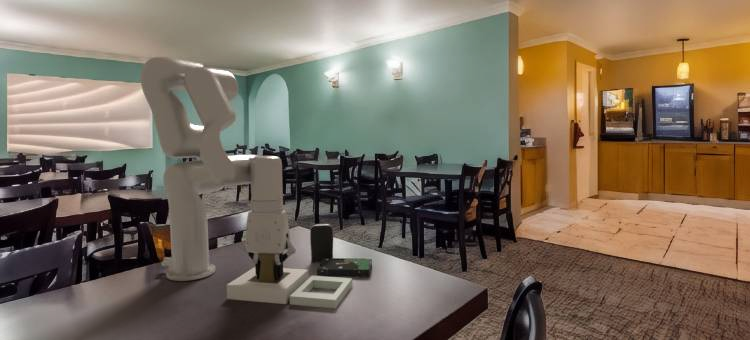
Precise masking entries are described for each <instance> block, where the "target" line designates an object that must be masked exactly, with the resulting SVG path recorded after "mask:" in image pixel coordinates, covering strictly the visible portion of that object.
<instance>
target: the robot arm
mask: <svg viewBox="0 0 750 340" xmlns="http://www.w3.org/2000/svg"><path fill="white" fill-rule="evenodd" d="M140 83H141V84H140V85H141V89H142V92H143V95H144V97H145V100H146V101H147V104H148V106H149V109H150V112H151V114H152V117H153V121H154V127H155V128H156V133H157V136H158V140H159V144H160V147H161V150H162V152H163V154H164V155H165V156H166V157H168V158H172V159H187V158H196V160H191V161H189V160H188V161H180V162H176V163H173V164H171V165H170V166H168V167H167V168H166V170H165V171H164V172H163V177H162V178H163V179H162V182H163V187H164V189H165V193H166V198H167V202H168V212H169V215H168V216H169V227H170V229H169V230H170V247H171V248H170V249H171V250H170V252H171V256H169V257H167V256H165V257H163V261H162V262H160V264H161V266H162V267H168V270H167V272H166V273H165V274H166V275H165V277H166V279H168V280H169V281H174V282H186V281H187V282H188V281H195V280H201V279H204V278H207V277H210V276H212V275H213V274H214V273H215V272H216V265H214V264H213V263H210V250H209V231H208V229H209V228H208V212H207V211H208V210H207V208H206V205H205V203H204V201H203V200H202V199H201V198H202V197H200V195H203V194H209V193H210V194H211V193H215V192H218V191H221V190H223V189H224V188H228V187H229V188H230V187H236V186H241V185H250V194H251V195H250V200H248V201H246V206H247V207H250V211H249V212H248V214H247V218H246V225H245V243H244V245H243V247H242V248H241V250H242V251H243V252H244V253H245V255H246V254H247V255H248V257H249V258H250V259H251V260H252V262H253V264H255V265H254V267H255V270H256V275H257V279H258V280H259V275H260V264H261V261H260V260H259V257H258V253H265V254H274V255H275V262H276V264H275V265H274V279H275V281H278V280H279V279H280V278H281V277H282V276H283V268H284V262H285V261H286V260H287V259H288V258H289V257H291V256H292V255H294V254H296V252H297V250H296V249H295V247H294V245H293V244H292V242H291V239H290V238H291V237H290V226H289V219H288V217H287V215H288V214H287V213H286V210H284V193H283V192H284V191H283V163H282V159H281V158H280V157H279V156H275V155H257V154H248V153H247V154H232V155H228V154H227V152H226V151H225V149H224V146H223V144H222V141H221V133H222V131H225V130H226V129H228V128H229V127H231V126H232V125H233V124H234V123H235V121H236V119H237V115H236V113H235V110H234V109H233V107H232V104H231V101H233V100H234V99H236V98H237V96H238V94H239V83H238V81H237V78H236V77H235V75H233V73H231V72H229V71H227V70H225V69H220V68H217V67H214V66H211V65H209V64H208V65H207V64H205V63H201V62H196V61H191V60H186V59H182V58H175V57H170V56H155V57H151V58H150V59H148V60H146V62H145V63H144V64H143V67H142V69H141V73H140ZM174 90H175V91H182V92H183V91H184V92H187V94H188V96H189V98H190V100H191V103H192V105H193V107H194V109H195V111H196V113H197V115H198V117H199V119H200V122H201V124H197V123H196V124H193V123H191V122H190V119H189V116H188V113H187V109H186V107H185V105H184V103H183V102H182V101H181V99H180V98H179V97H178V96H177V95H176V94H175V93H174ZM285 250H287V251H286V252H285V253H284V251H285Z"/></svg>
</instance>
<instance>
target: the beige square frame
mask: <svg viewBox="0 0 750 340" xmlns="http://www.w3.org/2000/svg"><path fill="white" fill-rule="evenodd" d="M308 279H309V269H305V268H304V269H302V268H301V269H300V268H289V267H288V268H287V267H286V268H285V267H283V276H282V277H281V281H280V282H279V283H278V284H275V283H262V282H259V280H258V279H257V275H256V270H255V266H254V267H252V268H250V269H249V270H248V271H246V272H245V273H243V274H241V275H239V276H238V277H236V278H235V279H233V280H232V281H231V282H229V283H227V284H226V295H227V296H226V298H227V300H235V301H247V302H258V303H268V304H280V305H281V304H282V305H287V304H288V303H289V304H290V295H292V294H293V293H294V292H295V291H296V290H297V289H298V288H299V287H300V286H301V285H302V284H303V283H304V282H305V281H307V280H308Z"/></svg>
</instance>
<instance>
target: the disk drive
mask: <svg viewBox="0 0 750 340" xmlns="http://www.w3.org/2000/svg"><path fill="white" fill-rule="evenodd" d="M372 268H373V260H372V259H371V258H356V257H354V258H350V257H349V258H347V257H346V258H341V257H340V258H338V257H337V258H336V257H333V258H323V259H322V261H321V262H319V265H318V266H317V268H316V276H325V277H340V278H371V273H372Z"/></svg>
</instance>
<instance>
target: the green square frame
mask: <svg viewBox="0 0 750 340" xmlns="http://www.w3.org/2000/svg"><path fill="white" fill-rule="evenodd" d="M352 287H353V277H325V276H317V275H311V276H310V277H308V280H307V281H305V282H304V283H303V284H302V285H301V286H300V287H299V288H298V289H297V290H296V291H295V292H294V293H293V294H292V295H290V303H289V305H292V306H294V305H295V306H301V307H313V308H314V307H315V308H323V309H324V308H325V309H326V308H327V309H335V310H336V309H337V307H338V306H339V305H340V303H341V302H342V301H343V299H344V298H345V297H346V295H347V294H348V292H349V291H350V290H351V289H352ZM313 288H314V289H315V288H316V289H326V290H335V292H334V293H333V294H332V293H321V292H311V291H312V290H313Z"/></svg>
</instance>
